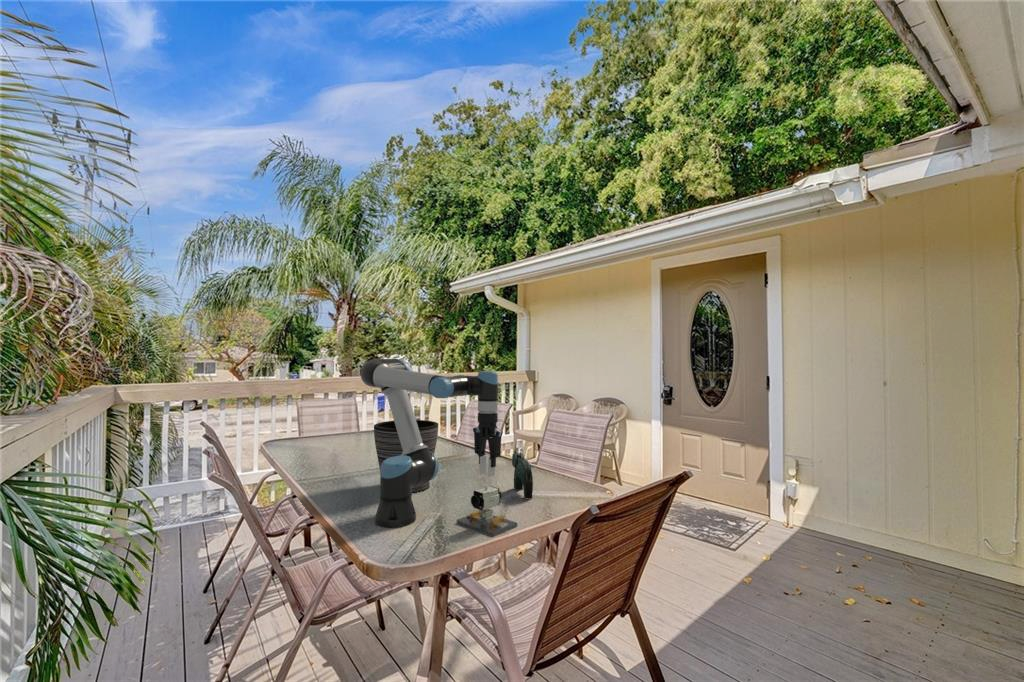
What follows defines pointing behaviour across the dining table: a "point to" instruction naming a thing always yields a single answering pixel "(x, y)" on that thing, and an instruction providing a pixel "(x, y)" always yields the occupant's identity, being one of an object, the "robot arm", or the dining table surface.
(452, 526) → the dining table surface
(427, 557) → the dining table surface
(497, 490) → the pneumatic valve
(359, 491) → the dining table surface
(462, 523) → the rail plate
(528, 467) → the green spring clamp
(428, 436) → the planter pot
